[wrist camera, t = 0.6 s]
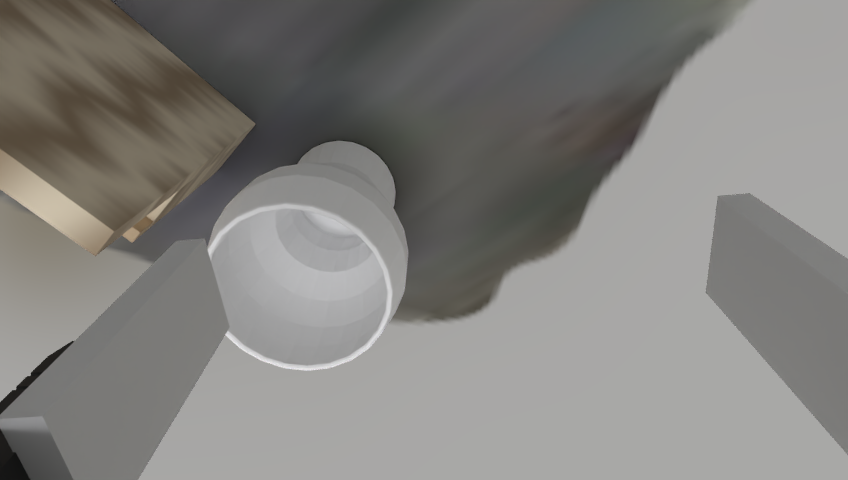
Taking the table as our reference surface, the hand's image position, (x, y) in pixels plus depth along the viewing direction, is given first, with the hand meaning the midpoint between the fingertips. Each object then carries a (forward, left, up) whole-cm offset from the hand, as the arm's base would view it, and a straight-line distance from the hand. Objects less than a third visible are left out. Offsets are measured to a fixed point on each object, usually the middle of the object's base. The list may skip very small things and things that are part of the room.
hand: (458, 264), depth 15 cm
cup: (+5, -9, -26) cm, 28 cm away
